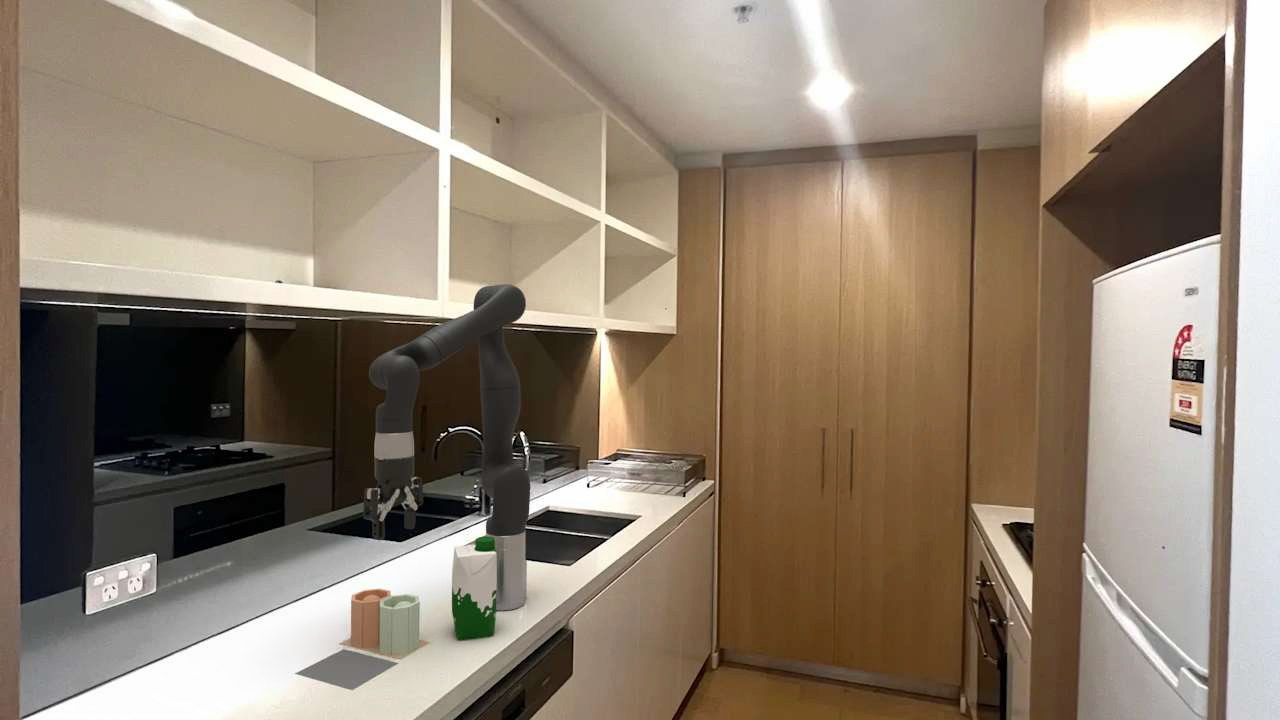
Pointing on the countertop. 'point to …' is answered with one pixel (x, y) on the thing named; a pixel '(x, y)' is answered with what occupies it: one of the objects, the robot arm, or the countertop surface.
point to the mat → (347, 669)
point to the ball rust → (371, 598)
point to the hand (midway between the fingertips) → (394, 533)
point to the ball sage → (402, 604)
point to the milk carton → (474, 589)
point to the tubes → (385, 624)
